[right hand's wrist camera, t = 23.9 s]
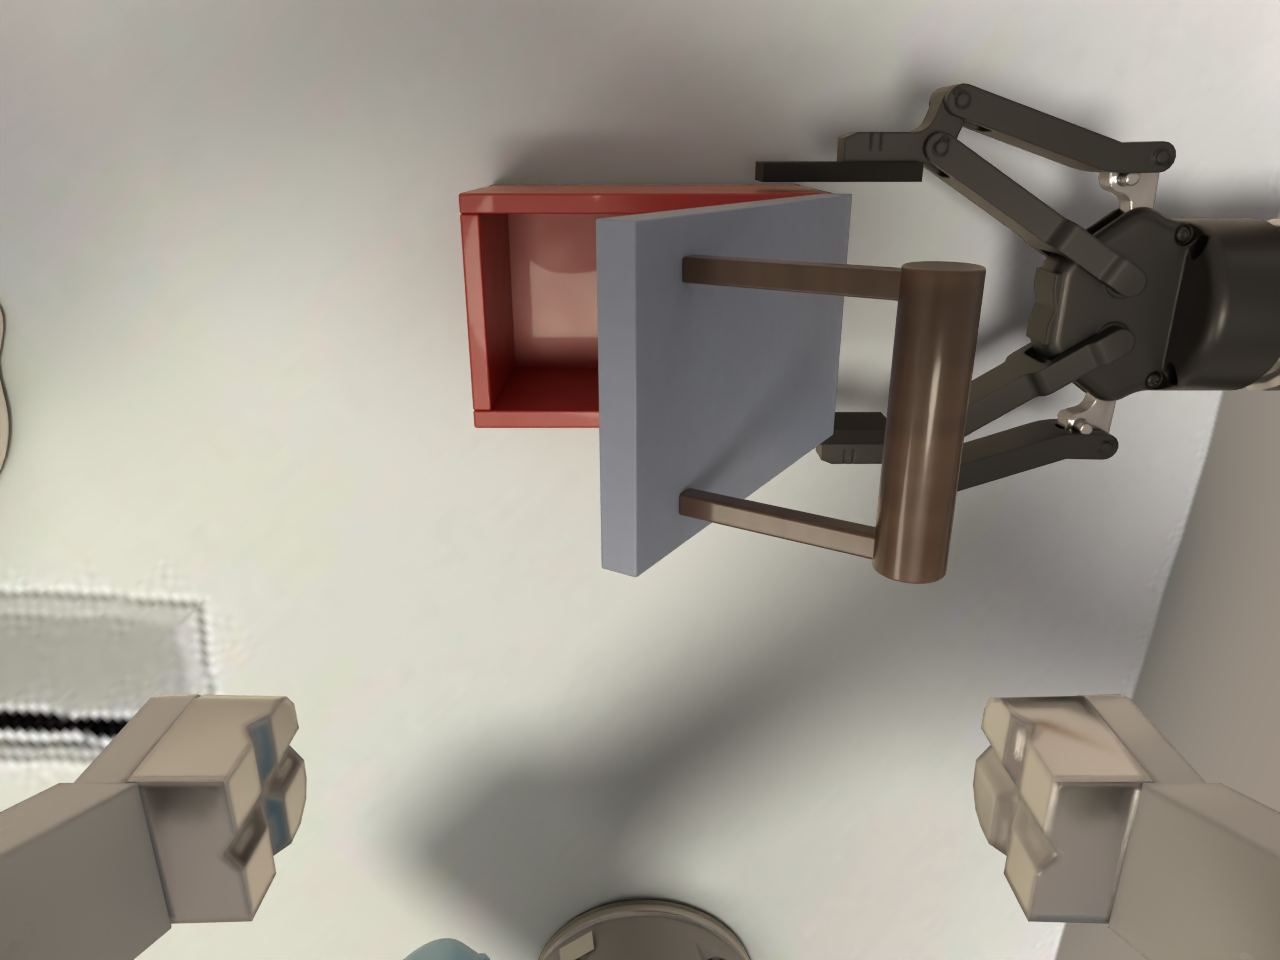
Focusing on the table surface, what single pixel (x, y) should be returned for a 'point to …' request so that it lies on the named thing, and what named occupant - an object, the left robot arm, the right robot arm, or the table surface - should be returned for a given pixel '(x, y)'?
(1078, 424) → the left robot arm
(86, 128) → the table surface
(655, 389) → the lid
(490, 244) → the chest
